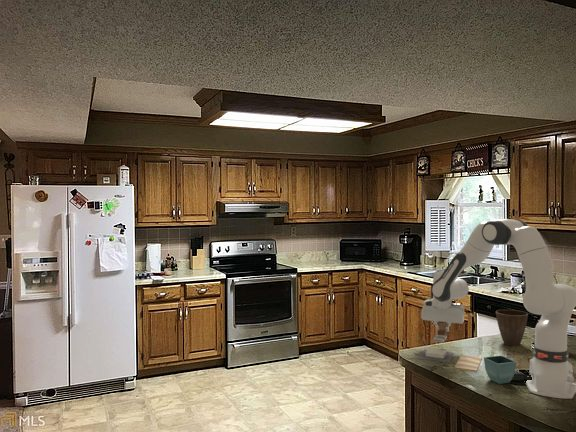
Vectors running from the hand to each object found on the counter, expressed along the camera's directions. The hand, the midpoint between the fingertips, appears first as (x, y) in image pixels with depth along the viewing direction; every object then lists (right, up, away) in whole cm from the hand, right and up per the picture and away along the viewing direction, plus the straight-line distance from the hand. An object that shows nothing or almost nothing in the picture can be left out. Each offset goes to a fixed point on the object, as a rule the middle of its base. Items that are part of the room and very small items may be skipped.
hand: (442, 330), depth 243 cm
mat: (-7, -9, -13) cm, 17 cm away
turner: (-2, -3, -5) cm, 6 cm away
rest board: (+4, -9, -24) cm, 26 cm away
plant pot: (+38, -9, +8) cm, 40 cm away
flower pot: (+8, -10, -46) cm, 48 cm away
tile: (-5, -8, -9) cm, 13 cm away
